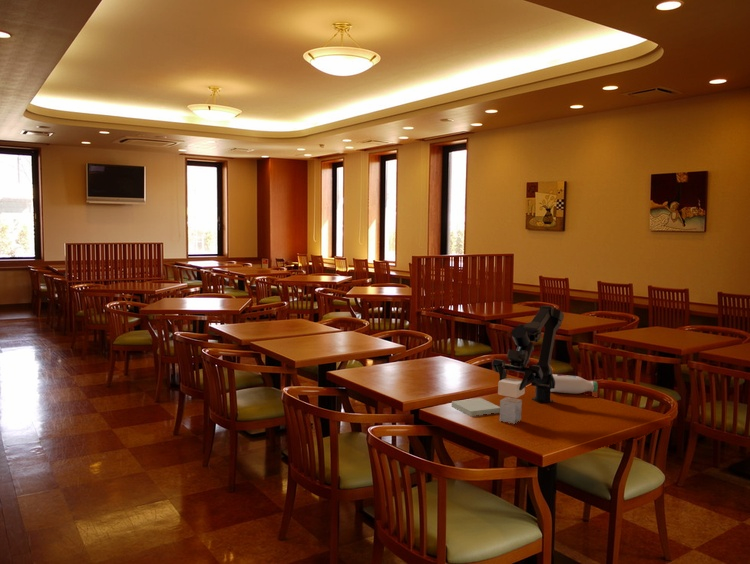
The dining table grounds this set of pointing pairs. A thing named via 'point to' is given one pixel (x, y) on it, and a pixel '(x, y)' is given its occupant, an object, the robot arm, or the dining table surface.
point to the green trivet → (475, 407)
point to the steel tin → (510, 410)
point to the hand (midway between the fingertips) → (510, 387)
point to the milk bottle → (573, 384)
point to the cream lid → (510, 387)
